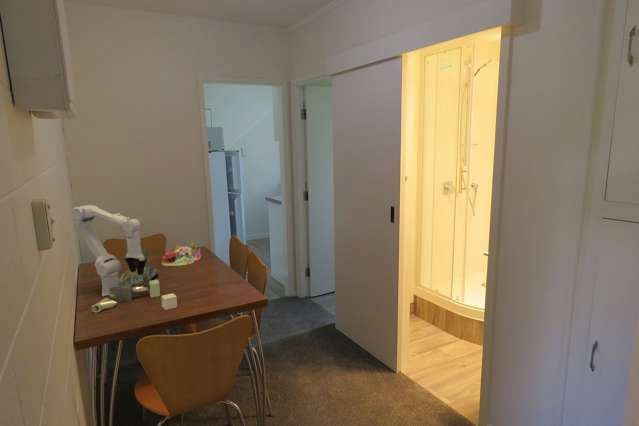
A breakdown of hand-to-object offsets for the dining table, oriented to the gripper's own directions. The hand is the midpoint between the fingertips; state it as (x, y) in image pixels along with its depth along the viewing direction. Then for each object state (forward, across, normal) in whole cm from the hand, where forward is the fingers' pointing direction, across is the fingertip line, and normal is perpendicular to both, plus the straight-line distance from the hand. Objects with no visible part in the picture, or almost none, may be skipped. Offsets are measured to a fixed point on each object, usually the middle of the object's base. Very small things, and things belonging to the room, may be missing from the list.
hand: (136, 273), depth 184 cm
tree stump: (+10, -23, +9) cm, 27 cm away
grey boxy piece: (+10, +2, -9) cm, 14 cm away
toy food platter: (+11, -39, +45) cm, 60 cm away
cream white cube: (+11, +26, +1) cm, 28 cm away
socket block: (+11, +6, +4) cm, 13 cm away
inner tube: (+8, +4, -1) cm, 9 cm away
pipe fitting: (+11, +6, -17) cm, 21 cm away
